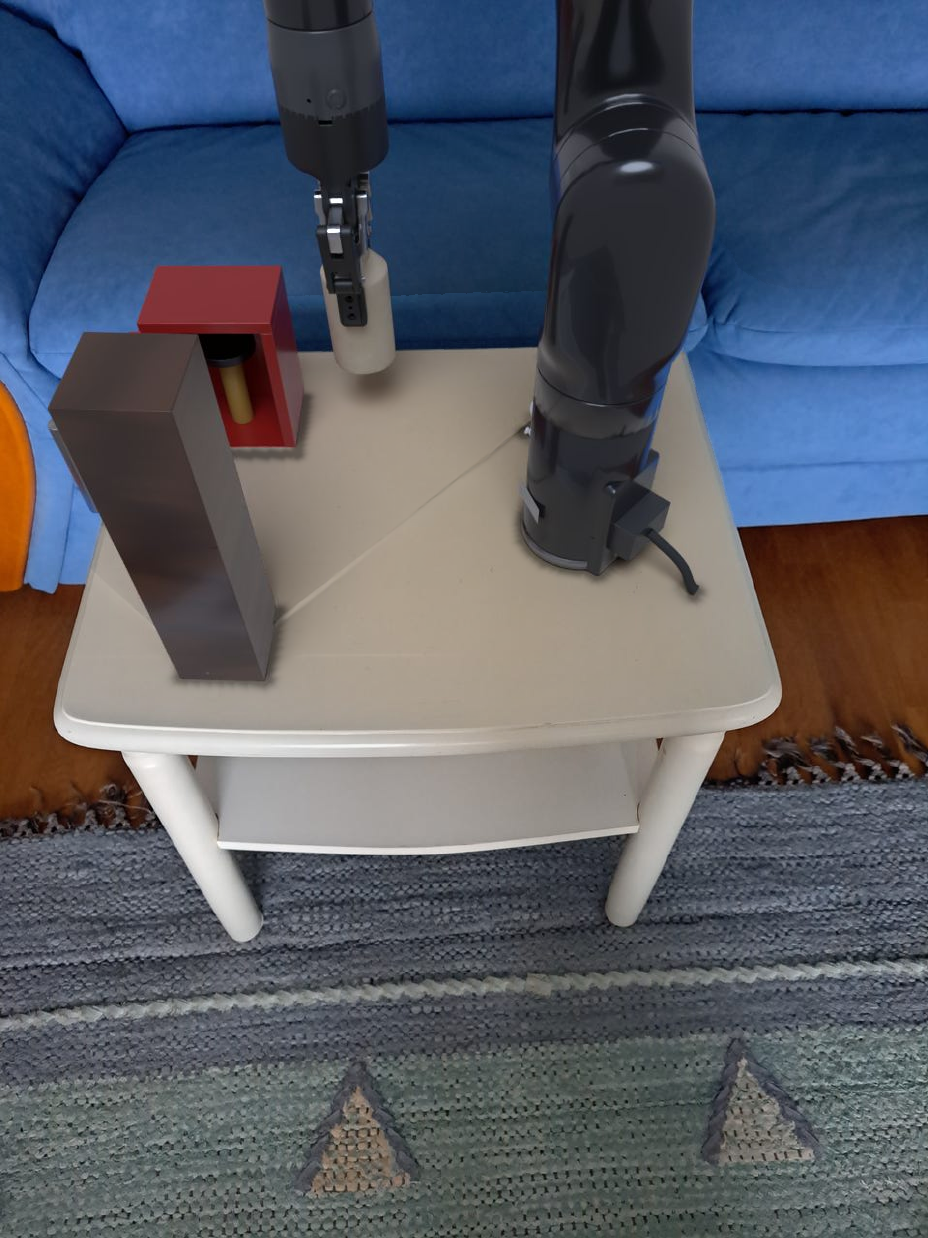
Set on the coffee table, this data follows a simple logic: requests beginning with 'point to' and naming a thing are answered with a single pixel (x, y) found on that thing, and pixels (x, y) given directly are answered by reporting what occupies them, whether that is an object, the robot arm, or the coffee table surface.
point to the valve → (231, 369)
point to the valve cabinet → (237, 308)
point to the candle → (375, 340)
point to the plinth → (170, 496)
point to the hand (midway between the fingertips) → (357, 301)
